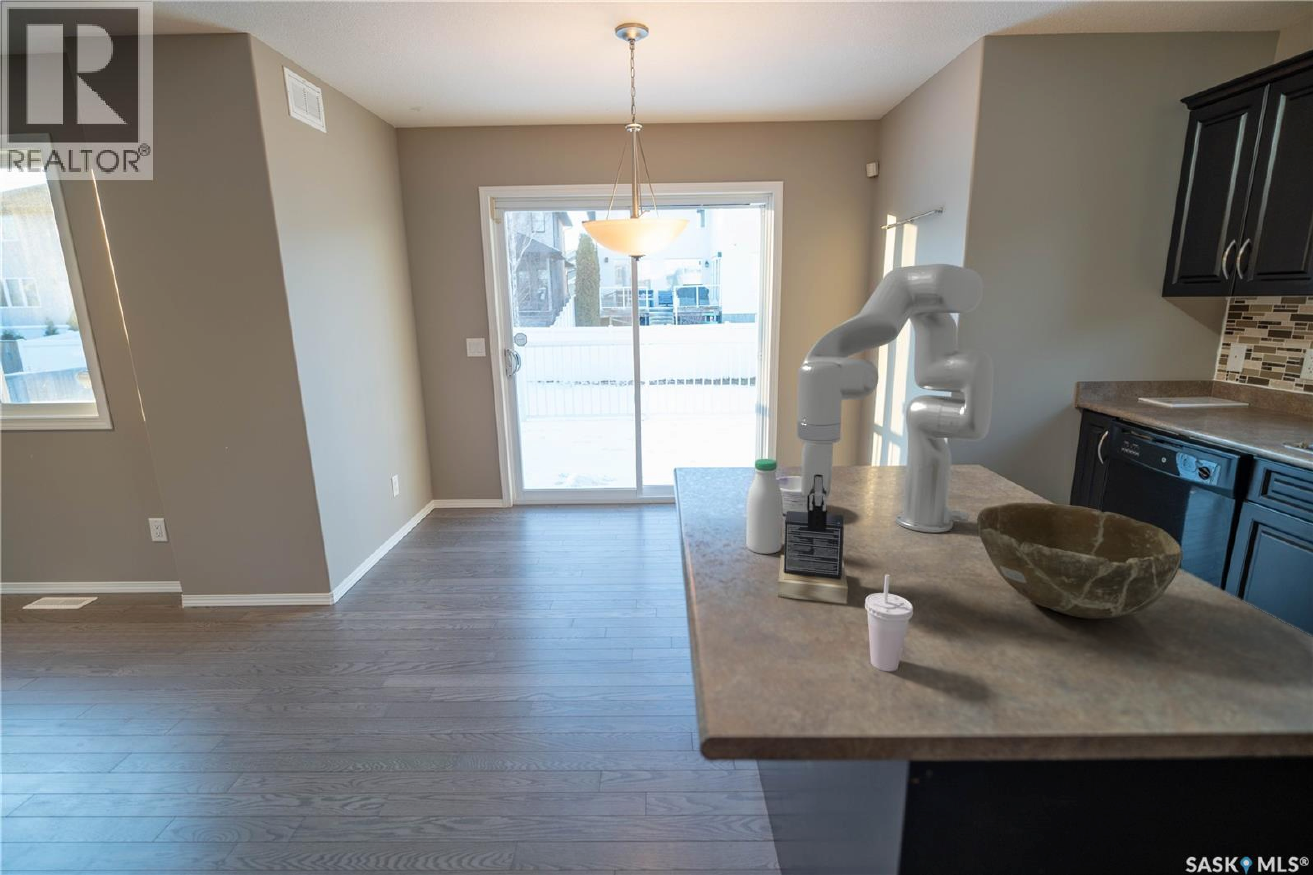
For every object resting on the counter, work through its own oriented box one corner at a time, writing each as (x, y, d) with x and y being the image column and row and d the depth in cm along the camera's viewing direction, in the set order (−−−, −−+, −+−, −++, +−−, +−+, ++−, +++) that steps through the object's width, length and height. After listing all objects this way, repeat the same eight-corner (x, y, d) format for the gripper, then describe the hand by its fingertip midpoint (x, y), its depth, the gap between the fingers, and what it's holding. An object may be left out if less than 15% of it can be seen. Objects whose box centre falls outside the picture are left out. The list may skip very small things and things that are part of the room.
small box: (841, 565, 106) (844, 513, 104) (842, 580, 100) (845, 525, 98) (785, 559, 109) (787, 508, 107) (782, 573, 103) (784, 520, 101)
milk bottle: (781, 556, 118) (784, 465, 114) (745, 553, 120) (746, 464, 116) (781, 542, 126) (783, 456, 122) (746, 540, 127) (748, 455, 123)
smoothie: (853, 652, 84) (859, 566, 81) (894, 649, 84) (901, 564, 82) (873, 678, 78) (880, 586, 75) (917, 675, 78) (925, 584, 75)
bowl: (997, 639, 87) (1008, 549, 84) (955, 566, 112) (962, 496, 109) (1213, 664, 79) (1234, 568, 76) (1116, 581, 105) (1128, 506, 102)
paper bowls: (773, 500, 155) (773, 472, 154) (829, 505, 150) (831, 477, 148) (763, 517, 142) (763, 488, 140) (824, 524, 136) (826, 493, 134)
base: (842, 574, 109) (843, 559, 109) (846, 603, 98) (847, 587, 97) (780, 568, 112) (780, 554, 112) (777, 596, 101) (778, 580, 100)
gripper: (797, 421, 108) (796, 504, 112) (796, 442, 92) (794, 537, 96) (837, 421, 106) (834, 506, 110) (844, 443, 90) (840, 540, 94)
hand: (816, 520), depth 103 cm, fingers open, 9 cm apart
